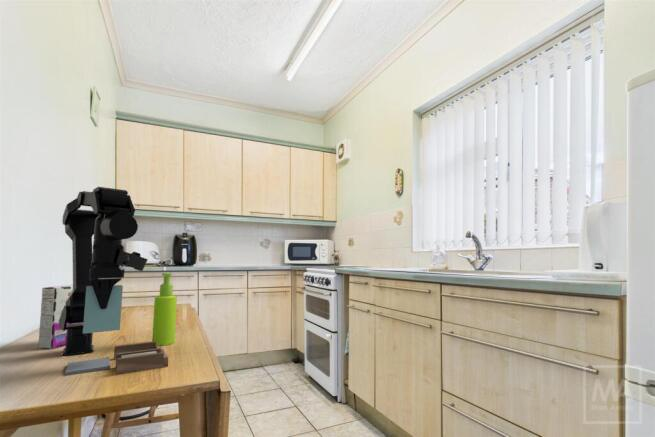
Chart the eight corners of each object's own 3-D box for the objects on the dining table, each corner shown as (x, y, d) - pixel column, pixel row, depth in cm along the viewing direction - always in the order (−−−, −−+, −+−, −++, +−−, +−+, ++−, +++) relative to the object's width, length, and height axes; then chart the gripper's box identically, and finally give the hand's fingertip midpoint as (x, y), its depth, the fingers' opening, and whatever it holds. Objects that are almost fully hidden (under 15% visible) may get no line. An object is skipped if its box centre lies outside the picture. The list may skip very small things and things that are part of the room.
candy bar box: (73, 339, 105) (78, 283, 106) (87, 339, 104) (91, 284, 105) (35, 348, 94) (41, 286, 95) (51, 349, 93) (56, 287, 94)
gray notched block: (120, 369, 77) (121, 355, 78) (159, 363, 81) (159, 350, 82) (120, 372, 75) (121, 358, 76) (160, 366, 79) (161, 353, 80)
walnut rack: (114, 358, 85) (114, 345, 85) (159, 352, 90) (159, 340, 90) (116, 374, 73) (117, 359, 74) (167, 366, 79) (168, 352, 79)
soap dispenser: (172, 339, 105) (175, 272, 107) (176, 344, 99) (179, 273, 101) (150, 341, 102) (154, 272, 104) (153, 346, 96) (157, 273, 98)
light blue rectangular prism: (82, 330, 80) (86, 286, 81) (118, 326, 84) (121, 284, 85) (82, 333, 76) (86, 287, 78) (119, 329, 80) (122, 286, 82)
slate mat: (67, 365, 79) (68, 362, 79) (109, 359, 84) (109, 357, 84) (65, 375, 73) (65, 372, 73) (110, 368, 77) (110, 365, 77)
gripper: (151, 240, 79) (147, 310, 78) (141, 242, 94) (137, 301, 93) (93, 238, 73) (87, 314, 71) (91, 241, 88) (86, 304, 86)
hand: (103, 307), depth 81 cm, fingers closed on light blue rectangular prism, 4 cm apart
